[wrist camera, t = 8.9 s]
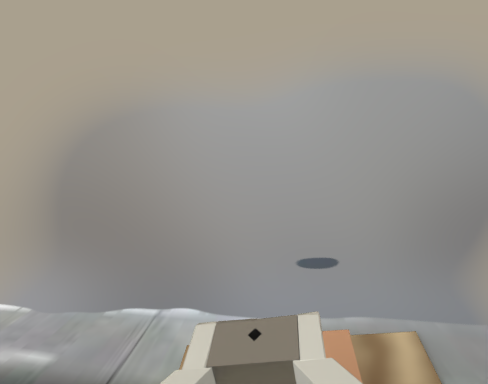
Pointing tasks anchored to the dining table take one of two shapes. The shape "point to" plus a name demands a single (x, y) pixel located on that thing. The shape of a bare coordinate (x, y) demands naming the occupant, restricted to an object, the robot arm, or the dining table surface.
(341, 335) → the terracotta tile
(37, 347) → the dining table surface
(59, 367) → the dining table surface
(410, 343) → the oak board
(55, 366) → the dining table surface
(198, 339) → the robot arm
